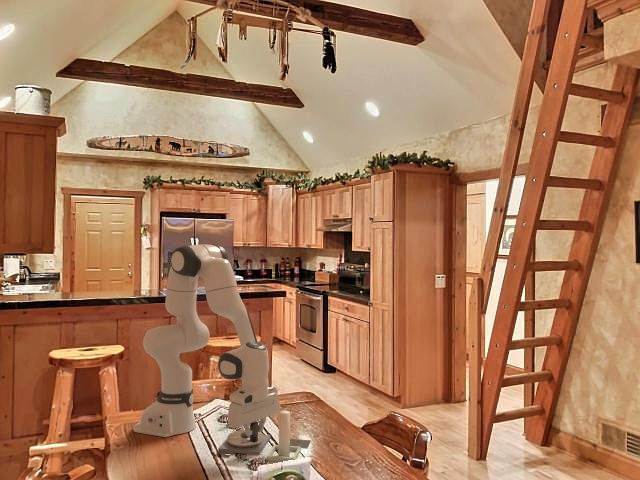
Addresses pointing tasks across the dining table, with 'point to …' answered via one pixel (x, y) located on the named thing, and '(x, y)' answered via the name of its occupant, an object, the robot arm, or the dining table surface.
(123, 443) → the dining table surface
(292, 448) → the tray
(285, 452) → the pin
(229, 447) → the crank base
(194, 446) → the dining table surface
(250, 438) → the crank
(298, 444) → the socket plate
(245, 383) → the robot arm
